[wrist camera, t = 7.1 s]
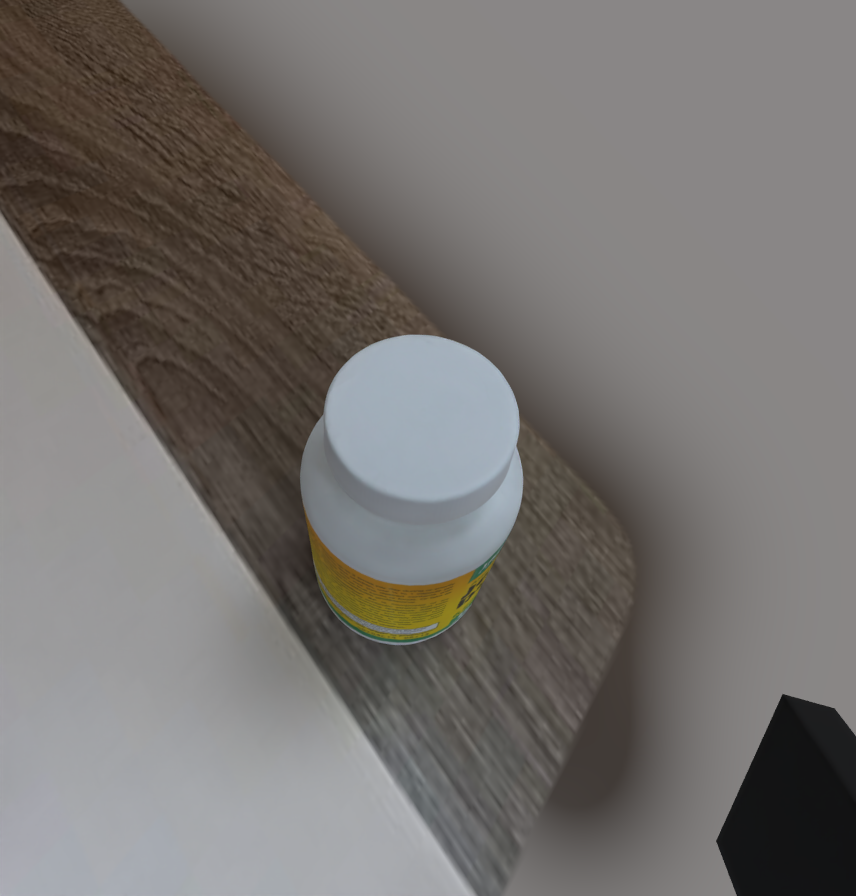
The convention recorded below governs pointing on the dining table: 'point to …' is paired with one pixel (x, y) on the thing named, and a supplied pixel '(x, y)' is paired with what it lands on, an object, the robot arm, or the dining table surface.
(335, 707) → the dining table surface
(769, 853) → the robot arm
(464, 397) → the supplement bottle
